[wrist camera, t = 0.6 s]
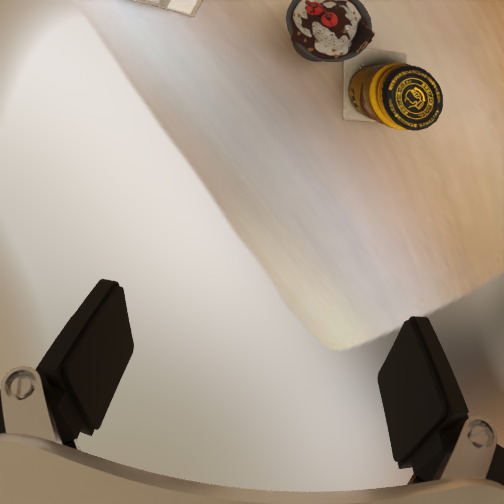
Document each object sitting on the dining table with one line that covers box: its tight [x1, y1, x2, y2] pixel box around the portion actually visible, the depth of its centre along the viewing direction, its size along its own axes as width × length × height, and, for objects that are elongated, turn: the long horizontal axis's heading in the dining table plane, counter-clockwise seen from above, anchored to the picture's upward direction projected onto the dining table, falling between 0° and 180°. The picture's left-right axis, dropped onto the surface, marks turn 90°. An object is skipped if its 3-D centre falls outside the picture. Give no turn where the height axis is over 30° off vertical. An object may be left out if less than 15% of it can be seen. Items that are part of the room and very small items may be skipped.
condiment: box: [343, 48, 443, 131], centre depth 24 cm, size 7×8×12 cm
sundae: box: [286, 0, 375, 62], centre depth 21 cm, size 7×7×15 cm
